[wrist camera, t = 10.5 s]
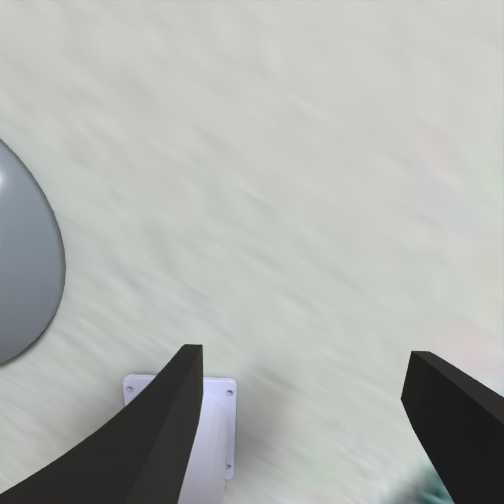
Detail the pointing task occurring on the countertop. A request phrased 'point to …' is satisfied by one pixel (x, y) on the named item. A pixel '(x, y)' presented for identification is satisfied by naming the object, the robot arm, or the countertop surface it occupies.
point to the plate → (26, 257)
